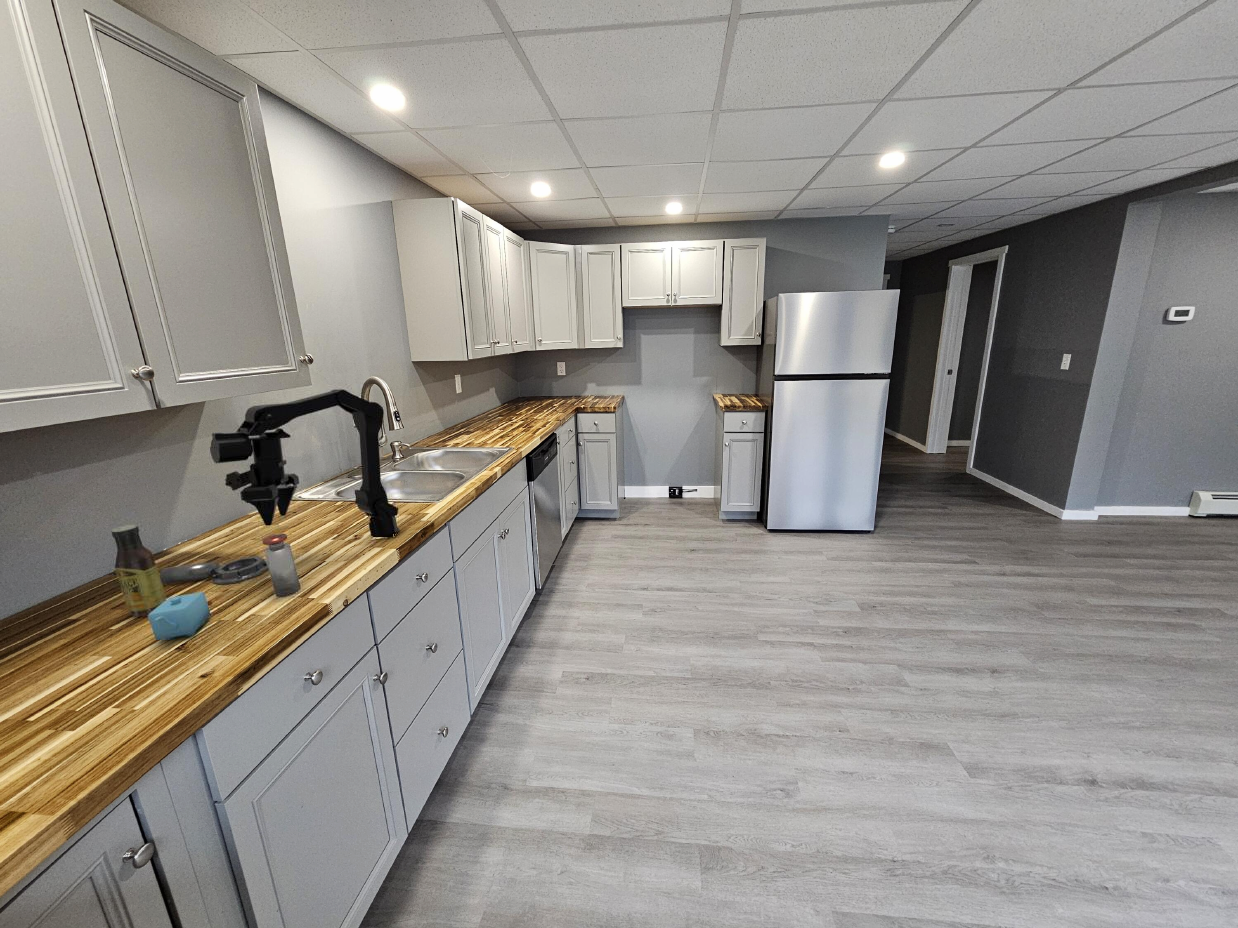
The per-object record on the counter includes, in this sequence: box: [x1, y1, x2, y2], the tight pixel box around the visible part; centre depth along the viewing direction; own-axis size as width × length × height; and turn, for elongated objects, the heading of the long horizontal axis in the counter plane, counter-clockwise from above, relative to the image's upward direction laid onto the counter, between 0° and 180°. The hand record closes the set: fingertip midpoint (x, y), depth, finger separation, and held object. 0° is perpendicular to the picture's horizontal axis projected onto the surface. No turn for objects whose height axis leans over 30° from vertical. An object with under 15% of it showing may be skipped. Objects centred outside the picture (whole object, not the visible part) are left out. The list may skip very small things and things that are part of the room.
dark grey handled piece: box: [159, 555, 269, 586], centre depth 123 cm, size 23×12×4 cm, turn 101°
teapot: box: [147, 591, 212, 641], centre depth 97 cm, size 12×6×8 cm, turn 16°
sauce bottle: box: [111, 524, 167, 618], centre depth 105 cm, size 7×6×20 cm
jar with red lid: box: [262, 533, 302, 598], centre depth 111 cm, size 5×5×14 cm
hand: (276, 520), depth 120 cm, fingers open, 9 cm apart
